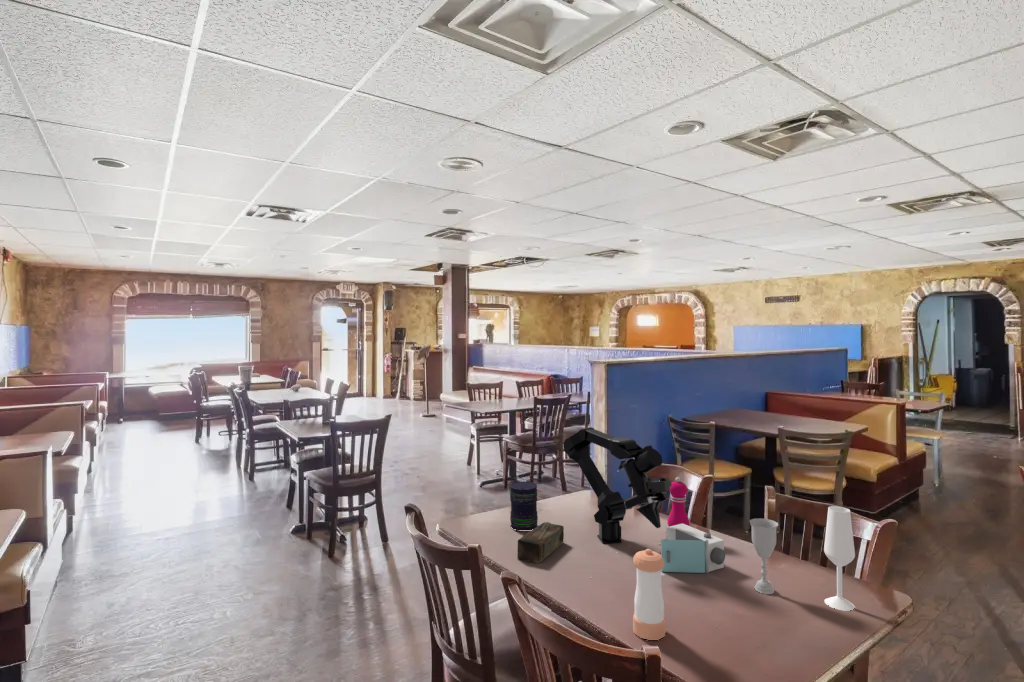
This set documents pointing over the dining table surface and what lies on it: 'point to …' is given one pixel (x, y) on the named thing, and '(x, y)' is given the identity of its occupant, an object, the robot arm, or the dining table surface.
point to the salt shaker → (649, 596)
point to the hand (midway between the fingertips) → (658, 527)
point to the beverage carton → (540, 542)
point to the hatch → (683, 555)
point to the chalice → (764, 548)
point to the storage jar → (523, 505)
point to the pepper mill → (678, 504)
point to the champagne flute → (839, 550)
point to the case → (712, 543)
